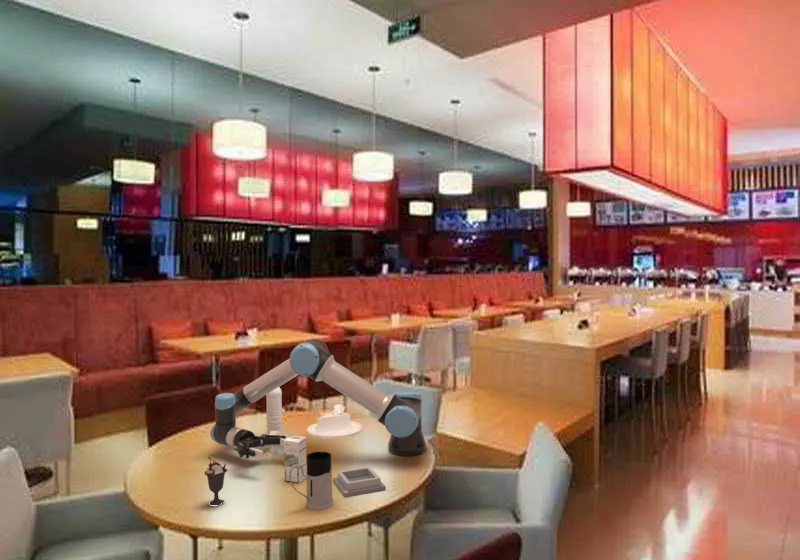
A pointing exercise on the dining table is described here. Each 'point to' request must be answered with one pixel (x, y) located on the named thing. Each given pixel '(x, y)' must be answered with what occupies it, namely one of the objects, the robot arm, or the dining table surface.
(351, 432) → the dish
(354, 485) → the box holder
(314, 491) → the glass holder
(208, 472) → the sundae
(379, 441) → the dining table surface
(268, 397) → the water bottle
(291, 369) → the robot arm
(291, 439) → the syrup box
